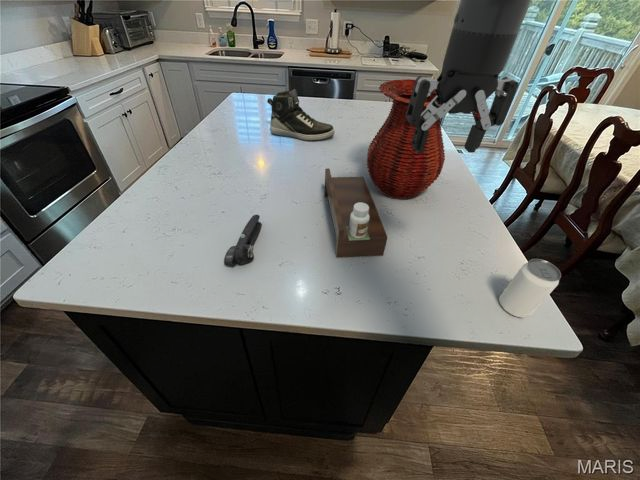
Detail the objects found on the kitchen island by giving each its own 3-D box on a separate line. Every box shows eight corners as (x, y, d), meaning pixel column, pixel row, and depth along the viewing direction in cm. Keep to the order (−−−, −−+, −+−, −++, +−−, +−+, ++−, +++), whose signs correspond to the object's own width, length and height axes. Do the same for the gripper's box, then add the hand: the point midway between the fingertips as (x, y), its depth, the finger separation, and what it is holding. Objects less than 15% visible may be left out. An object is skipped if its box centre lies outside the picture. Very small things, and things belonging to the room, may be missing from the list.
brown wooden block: (383, 257, 74) (390, 229, 68) (336, 259, 73) (339, 231, 67) (361, 193, 95) (364, 167, 88) (324, 194, 94) (325, 168, 87)
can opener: (250, 273, 69) (246, 256, 65) (221, 268, 69) (216, 251, 66) (271, 225, 82) (270, 209, 78) (247, 222, 82) (244, 205, 79)
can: (522, 294, 67) (552, 257, 58) (536, 319, 62) (571, 283, 54) (493, 293, 67) (519, 256, 58) (505, 318, 62) (536, 281, 54)
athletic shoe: (274, 129, 132) (270, 85, 120) (335, 134, 128) (337, 89, 116) (266, 137, 124) (261, 91, 113) (331, 143, 120) (333, 96, 109)
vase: (358, 168, 106) (371, 76, 86) (422, 170, 107) (450, 79, 87) (366, 207, 89) (384, 103, 69) (443, 208, 90) (483, 106, 69)
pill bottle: (359, 241, 68) (363, 215, 63) (344, 232, 71) (347, 206, 65) (370, 232, 71) (375, 206, 66) (355, 224, 73) (359, 198, 68)
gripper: (442, 29, 32) (408, 163, 43) (560, 32, 34) (498, 161, 45) (419, 20, 38) (393, 141, 49) (521, 23, 39) (474, 140, 50)
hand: (443, 150), depth 47 cm, fingers open, 8 cm apart
